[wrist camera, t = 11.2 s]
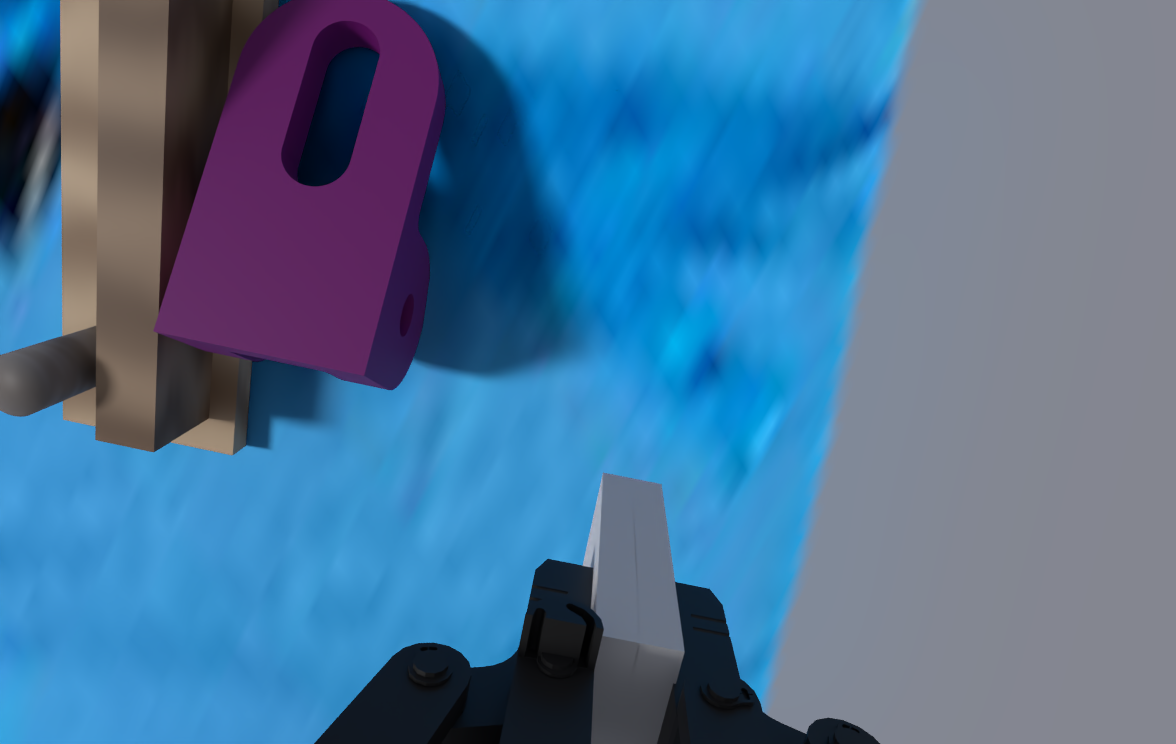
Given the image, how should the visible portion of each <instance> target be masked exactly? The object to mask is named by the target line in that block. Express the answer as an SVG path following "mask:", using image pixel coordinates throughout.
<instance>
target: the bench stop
mask: <svg viewBox="0 0 1176 744" xmlns="http://www.w3.org/2000/svg"><path fill="white" fill-rule="evenodd" d="M278 1H279V0H60V20H61V176H62V331H63V336H61V337H58V338H54V339H51V340H48V341H45V342H41V343H38V344H35V345H32V346H28V347H25V348H22V349H19V350H15V351H12V352H9V353H6V354H3V355H0V410H1V411H2V412H4V413H7V414H9V415H13V416H28V415H31V414H33V413H35V412H38V411H40V410H42V409H45V408H47V407H50V406H52V405H54V404H57V403H59V402H61V401H63V420H68V421H72V422H77V423H82V424H87V425H91V426H96V438H95V440H98V441H103V442H108V443H112V444H117V445H122V446H127V447H131V448H136V449H141V450H146V451H150V452H155V451H157V450H158V449H160V448H162V447H163V446H165V445H167V444H168V443H170V442H172V443H176V444H181V445H186V446H191V447H195V448H200V449H205V450H210V451H214V452H219V453H224V454H228V455H234V454H235V453H237V452H238V451H239V450H241V449H242V448H243V447H245V446H246V436H247V422H248V409H249V395H250V381H251V368H252V361H250V360H245V359H240V358H236V357H231V356H226V355H221V354H217V353H212V352H207V351H204V350H201V349H198V348H196V347H193V346H190V345H188V344H185V343H183V342H180V341H177V340H175V339H172V338H169V337H167V336H164V335H162V334H159V333H156V332H154V331H153V330H154V327H155V324H156V321H157V318H158V314H159V311H160V308H161V305H162V302H163V299H164V295H165V292H166V289H167V286H168V283H169V279H170V276H171V273H172V270H173V267H174V264H175V260H176V257H177V254H178V251H179V248H180V245H181V241H182V238H183V235H184V232H185V229H186V225H187V222H188V219H189V216H190V213H191V210H192V206H193V203H194V200H195V197H196V194H197V191H198V187H199V184H200V181H201V178H202V175H203V171H204V168H205V165H206V162H207V159H208V156H209V152H210V149H211V146H212V143H213V140H214V137H215V133H216V130H217V127H218V124H219V121H220V117H221V114H222V111H223V108H224V105H225V102H226V98H227V95H228V92H229V89H230V86H231V83H232V79H233V76H234V73H235V70H236V67H237V63H238V60H239V57H240V55H241V52H242V50H243V48H244V46H245V44H246V42H247V40H248V38H249V37H250V35H251V34H252V32H253V31H254V30H255V29H256V27H257V26H258V25H259V24H260V23H261V22H262V21H263V20H264V19H265V18H266V17H267V16H268V15H270V14H271V13H272V12H273V11H275V10H276V9H278Z"/></svg>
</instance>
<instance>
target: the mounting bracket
mask: <svg viewBox="0 0 1176 744" xmlns="http://www.w3.org/2000/svg"><path fill="white" fill-rule="evenodd" d="M353 47H364V48H369V49H371V50H374V51H376V52H377V53H379V54H380V57H379V61H378V64H377V68H376V71H375V75H374V78H373V82H372V86H371V89H370V93H369V96H368V100H367V103H366V107H365V111H364V114H363V118H362V121H361V125H360V129H359V132H358V136H357V139H356V143H355V146H354V150H353V154H352V157H351V161H350V164H349V166H348V168H347V170H346V171H345V172H344V174H343V175H342V176H341V177H340V178H338V179H337V180H336V181H334V182H332V183H330V184H327V185H324V186H307V185H303V184H300V183H298V178H297V171H298V166H299V163H300V159H301V156H302V152H303V149H304V145H305V142H306V139H307V135H308V132H309V128H310V125H311V121H312V118H313V115H314V111H315V108H316V104H317V101H318V97H319V94H320V91H321V87H322V84H323V80H324V77H325V73H326V70H327V67H328V65H329V63H330V61H331V60H332V59H333V58H334V57H335V56H336V55H337V54H338V53H340V52H341V51H343V50H346V49H349V48H353ZM445 105H446V104H445V91H444V85H443V82H442V78H441V75H440V71H439V68H438V64H437V61H436V57H435V53H434V51H433V48H432V46H431V43H430V42H429V40H428V38H427V36H426V34H425V33H424V32H423V30H422V29H421V27H420V26H419V25H418V24H417V23H416V22H415V20H414V19H413V18H412V17H410V16H409V15H408V14H407V13H406V12H405V11H403V10H402V9H401V8H399V7H398V6H396V5H394V4H393V3H391V2H389V1H387V0H292V1H290V2H288V3H286V4H284V5H282V6H281V7H279V8H278V9H276V10H275V11H273V12H272V13H271V14H270V15H268V16H267V17H266V18H265V19H264V20H263V21H262V22H261V23H260V24H259V25H258V26H257V27H256V29H255V30H254V31H253V32H252V34H251V35H250V37H249V38H248V40H247V42H246V44H245V46H244V48H243V50H242V52H241V55H240V57H239V60H238V63H237V67H236V70H235V73H234V76H233V79H232V83H231V86H230V89H229V92H228V95H227V98H226V102H225V105H224V108H223V111H222V114H221V117H220V121H219V124H218V127H217V130H216V133H215V137H214V140H213V143H212V146H211V149H210V152H209V156H208V159H207V162H206V165H205V168H204V171H203V175H202V178H201V181H200V184H199V187H198V191H197V194H196V197H195V200H194V203H193V206H192V210H191V213H190V216H189V219H188V222H187V225H186V229H185V232H184V235H183V238H182V241H181V245H180V248H179V251H178V254H177V257H176V260H175V264H174V267H173V270H172V273H171V276H170V279H169V283H168V286H167V289H166V292H165V295H164V299H163V302H162V305H161V308H160V311H159V314H158V318H157V321H156V324H155V327H154V330H153V331H154V332H156V333H159V334H162V335H164V336H167V337H169V338H172V339H175V340H177V341H180V342H183V343H185V344H188V345H190V346H193V347H196V348H198V349H201V350H204V351H207V352H212V353H217V354H221V355H226V356H231V357H236V358H240V359H245V360H250V361H256V362H258V361H263V360H265V359H267V360H272V361H276V362H281V363H286V364H290V365H295V366H300V367H305V368H309V369H314V370H319V371H324V372H327V373H329V374H331V375H333V376H335V377H337V378H339V379H341V380H345V381H349V382H354V383H359V384H363V385H368V386H373V387H378V388H382V389H387V390H393V389H395V388H396V387H397V386H398V385H399V384H400V383H401V382H402V380H403V378H404V377H405V375H406V373H407V371H408V369H409V367H410V365H411V362H412V360H413V357H414V354H415V351H416V348H417V345H418V342H419V338H420V335H421V331H422V327H423V321H424V314H425V307H426V300H427V293H428V286H429V279H430V264H429V254H428V249H427V246H426V244H425V242H424V240H423V238H422V236H421V235H420V233H419V230H418V221H419V214H420V210H421V206H422V202H423V198H424V195H425V191H426V187H427V183H428V179H429V175H430V171H431V168H432V164H433V160H434V156H435V152H436V148H437V144H438V141H439V137H440V133H441V129H442V125H443V121H444V116H445Z"/></svg>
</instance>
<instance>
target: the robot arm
mask: <svg viewBox="0 0 1176 744" xmlns="http://www.w3.org/2000/svg"><path fill="white" fill-rule="evenodd" d="M314 744H880V743H879V742H878V741H877V740H876V739H875V738H874V737H873V736H871V735H870V734H868V733H867V732H865V731H864V730H863V729H861V728H860V727H858V726H855V725H853V724H851V723H848V722H846V721H844V720H838V719H833V718H824V719H819V720H816V721H815V722H814V723H813V724H811V725H810V726H809V728H808V731H807V734H805V733H803V732H800V731H798V730H795V729H793V728H791V727H789V726H787V725H784V724H782V723H780V722H778V721H776V720H774V719H772V718H770V717H769V716H768V715H766V714H765V713H763V711H762V708H761V704H760V701H759V699H758V697H757V695H756V693H755V691H754V690H753V689H752V688H751V687H750V686H749V685H748V684H746V683H745V682H744V681H743V680H741V679H740V676H739V672H738V668H737V663H736V659H735V655H734V651H733V647H732V643H731V639H730V637H729V630H728V626H727V624H726V618H725V614H724V610H723V605H722V604H721V603H720V601H719V600H718V599H717V598H716V596H715V595H714V594H713V593H712V591H711V590H710V589H707V588H702V587H697V586H692V585H687V584H682V583H677V582H675V579H674V572H673V564H672V557H671V550H670V543H669V536H668V528H667V521H666V514H665V507H664V500H663V492H662V485H661V484H657V483H652V482H647V481H642V480H637V479H632V478H627V477H622V476H617V475H612V474H607V473H603V475H602V480H601V485H600V489H599V494H598V498H597V503H596V507H595V512H594V517H593V521H592V526H591V530H590V535H589V539H588V544H587V549H586V553H585V558H584V562H583V566H581V565H576V564H571V563H566V562H561V561H556V560H551V559H547V560H546V561H545V562H544V563H543V564H542V565H540V566H539V567H538V568H537V569H536V570H535V575H534V580H533V585H532V589H531V594H530V599H529V604H528V609H527V612H526V614H525V620H524V625H523V630H522V635H521V640H520V645H519V648H518V650H517V651H516V652H515V654H514V655H513V656H512V657H511V658H509V659H507V660H506V661H504V662H502V663H499V664H496V665H493V666H486V667H474V668H470V664H469V662H468V660H467V659H466V658H465V657H464V656H463V655H462V653H460V652H459V651H457V650H455V649H453V648H451V647H449V646H446V645H442V644H437V643H418V644H414V645H411V646H408V647H405V648H403V649H402V650H400V651H399V652H398V653H396V654H395V655H394V656H392V658H391V659H390V660H389V661H388V662H387V663H386V664H385V665H384V666H383V668H382V669H381V670H380V671H379V672H378V673H377V674H376V675H375V676H374V678H373V679H372V680H371V681H370V682H369V683H368V684H367V685H366V687H365V688H364V689H363V690H362V691H361V692H360V693H359V694H358V695H357V697H356V698H355V699H354V700H353V701H352V702H351V703H350V704H349V705H348V707H347V708H346V709H345V710H344V711H343V712H342V713H341V714H340V715H339V717H338V718H337V719H336V720H335V721H334V722H333V723H332V724H331V725H330V727H329V728H328V729H327V730H326V731H325V732H324V733H323V734H322V735H321V737H320V738H319V739H318V740H317V741H316V742H315V743H314Z"/></svg>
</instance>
